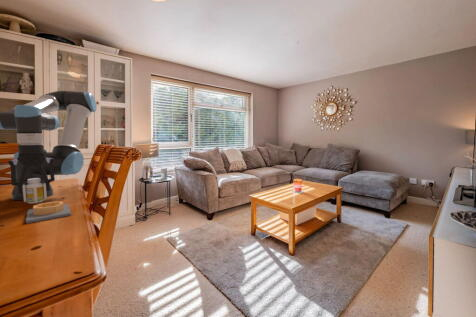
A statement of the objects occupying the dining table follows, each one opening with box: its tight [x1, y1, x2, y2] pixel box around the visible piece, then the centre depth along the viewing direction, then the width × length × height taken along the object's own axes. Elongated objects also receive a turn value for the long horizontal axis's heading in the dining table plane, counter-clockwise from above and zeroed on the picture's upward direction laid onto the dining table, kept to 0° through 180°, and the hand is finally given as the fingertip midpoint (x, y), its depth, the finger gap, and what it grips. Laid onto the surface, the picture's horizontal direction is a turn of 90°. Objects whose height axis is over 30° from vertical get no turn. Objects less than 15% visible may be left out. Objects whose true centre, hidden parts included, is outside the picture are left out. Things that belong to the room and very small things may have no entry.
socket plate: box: [25, 201, 72, 224], centre depth 81 cm, size 16×12×4 cm
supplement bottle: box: [26, 178, 46, 204], centre depth 87 cm, size 5×5×10 cm
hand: (35, 199), depth 88 cm, fingers closed on supplement bottle, 5 cm apart
